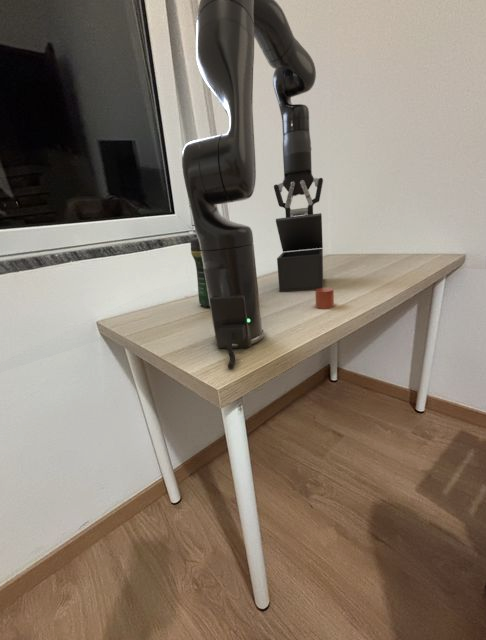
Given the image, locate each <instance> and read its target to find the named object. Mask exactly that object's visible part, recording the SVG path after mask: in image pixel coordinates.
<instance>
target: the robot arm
mask: <svg viewBox="0 0 486 640" xmlns="http://www.w3.org/2000/svg"><path fill="white" fill-rule="evenodd" d="M195 32H196V35H195V38H196V39H195V48H196V49H195V54H196V55H195V56H196V63H197V66H198V69H199V72H200V74H201V76H202V78H203V80H204V82H205V83H206V85H207V87H208V88H209V89H210V91H211V92H212V94H213V95H214V96H215V98H216V99H217V100H218V102H219V103H220V105H221V106H222V108H223V110H224V111H225V113H226V115H227V117H228V119H229V128H228V131H227V132H226V133H223V134H219V135H214V136H208V137H205V138H198V139H196V140H195V139H194V140H192V141H188V142H187V143H186V144H185V145H184V147H183V150H182V155H181V166H182V174H183V179H184V180H183V181H184V184H185V185H184V186H185V189H186V193H187V198H188V202H189V207H190V211H191V217H192V221H193V227H194V230H195V234H196V237H198V240H199V244H200V249H201V255H202V261H203V267H204V273H205V279H206V285H207V291H208V297H209V303H210V306H209V309H210V313H211V314H210V315H211V321H212V326H213V331H214V341H215V344H216V347H217V348H218V349H227V353H228V356H229V362H228V363H227V368H228V369H233V367H234V366H235V364H236V356H235V353H234V350H233V349H238V348H240V349H241V348H244V349H245V348H246V349H247V348H250V347H251V346H252V345H255V344H257V343H259V342H260V341H262V340H263V339H264V329H263V325H262V314H261V305H260V295H259V286H258V275H257V267H256V266H257V265H256V254H255V246H254V235H253V230H252V228H251V226H248V225H246V224H242V223H238V222H236V221H235V222H234V221H231V220H230V219H228V218H226V217H225V216H223V215H222V214H221V213H220V211H219V207H218V205H222V204H230V203H236V202H241V201H245V200H249V199H250V198H251V197H252V196H253V194H254V192H255V188H256V179H257V167H256V165H257V164H256V163H257V162H256V144H255V143H256V142H255V126H254V107H253V105H254V104H253V103H254V102H253V101H254V99H253V97H254V93H253V92H254V63H255V40H256V43H257V44H258V46H259V49H260V50H261V52H262V54H263V56H264V57H265V60H266V61H267V63H268V65H269V66H270V67H271V68H272V69H275V70H274V72H273V74H272V75H273V76H272V86H273V90H274V93H275V96H276V100H277V103H278V109H279V112H280V116H281V120H282V121H281V124H282V125H281V127H282V160H283V161H282V162H283V180H282V182H280V183H278V184H274V185H273V189H274V194H275V197H276V200H277V204H278V207H281V208H283V209H284V210H285V212H284V213H285V218H286V217H291V216H290V210H292V208H291V205H292V201H293V198H294V197H297V196H305V199H306V201H307V208H308V214H307V215H311V214H314V205H315V204H317V203H319V202H320V199H321V194H322V188H323V185H324V184H323V183H324V179H323V178H322V177H314V176H313V171H312V141H311V134H310V133H311V132H310V131H311V130H310V110H309V108H308V106H307V105H306V104H302V103H298V104H297V103H295V104H293V103H292V98H293V97H297V96H300V95H302V94H306V93H308V92H309V91H311V90H312V89H313V87H314V85H315V83H316V79H317V71H316V66H315V62H314V60H313V58H312V56H311V55H310V53H308V51H307V50H306V49H305V47H304V46H303V45H302V44H301V43H300V42H299V40H298V39H296V37H295V36H294V34H293V31H292V29H291V25H290V24H289V21H288V19H287V16H286V15H285V12H284V10H283V8H281V6H280V5H279V3H278V2H277V1H276V0H200V1H199V4H198V9H197V15H196V29H195ZM313 183H314V187H315V188H316V191H315V197H314V198H313V199H312V196H311V194H310V193H311V192H310V191H309V190H310V188H311V186H312V185H313ZM283 188H284V189H285V190H286V192H287V196H286V200H285V202H284V200H283V195H282V192H283Z"/></svg>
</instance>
